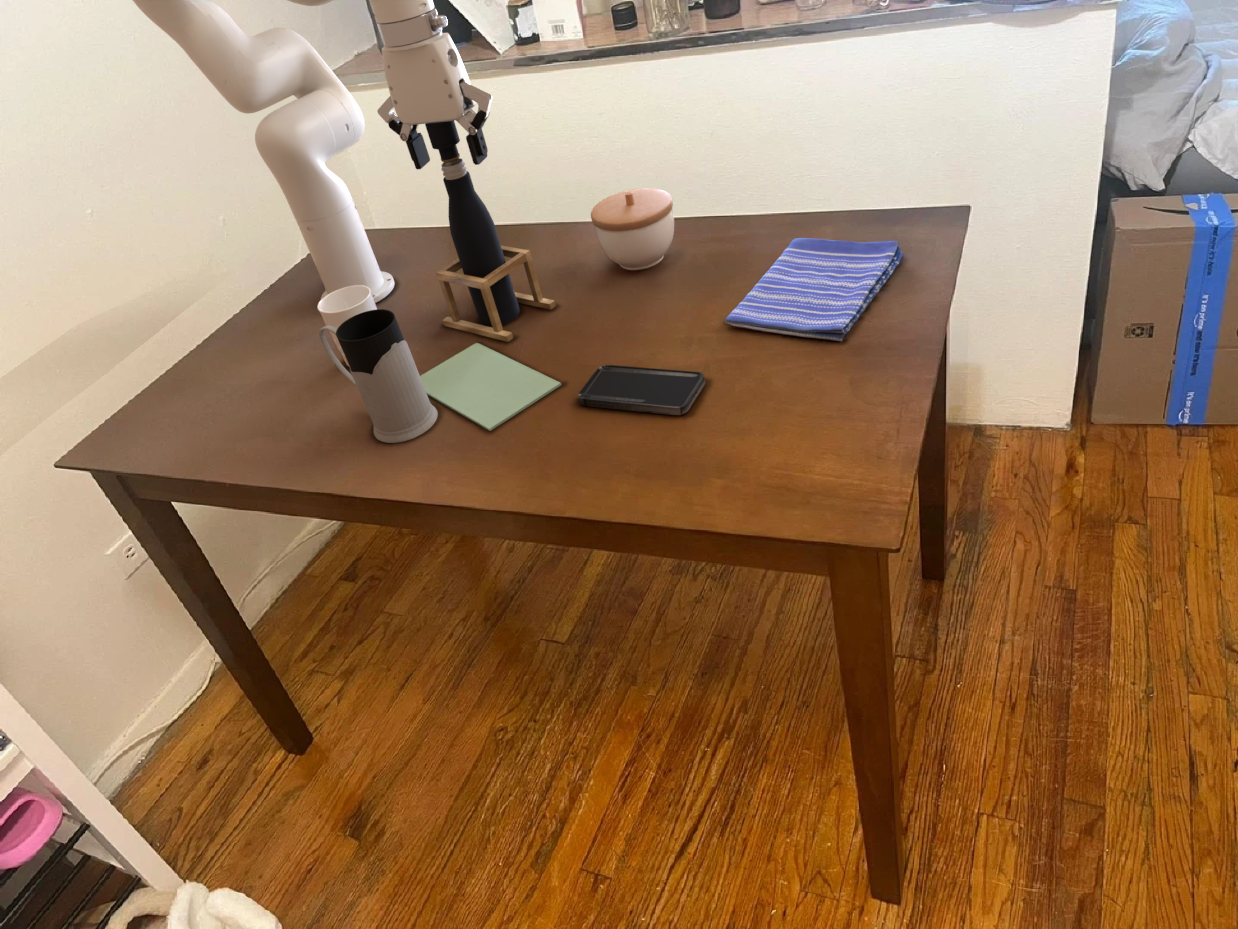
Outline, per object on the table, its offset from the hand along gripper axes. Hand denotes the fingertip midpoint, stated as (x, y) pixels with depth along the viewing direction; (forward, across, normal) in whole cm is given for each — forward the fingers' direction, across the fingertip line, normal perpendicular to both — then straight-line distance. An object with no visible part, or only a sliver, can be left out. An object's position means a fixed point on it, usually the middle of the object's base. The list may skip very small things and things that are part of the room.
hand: (451, 162), depth 130 cm
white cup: (+24, +17, +12) cm, 32 cm away
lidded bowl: (+24, -18, -17) cm, 35 cm away
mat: (+24, -6, +18) cm, 31 cm away
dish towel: (+24, -47, -5) cm, 53 cm away
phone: (+24, -29, +20) cm, 43 cm away
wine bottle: (+24, 0, 0) cm, 24 cm away
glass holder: (+24, +5, +26) cm, 36 cm away
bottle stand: (+24, 0, 0) cm, 24 cm away
